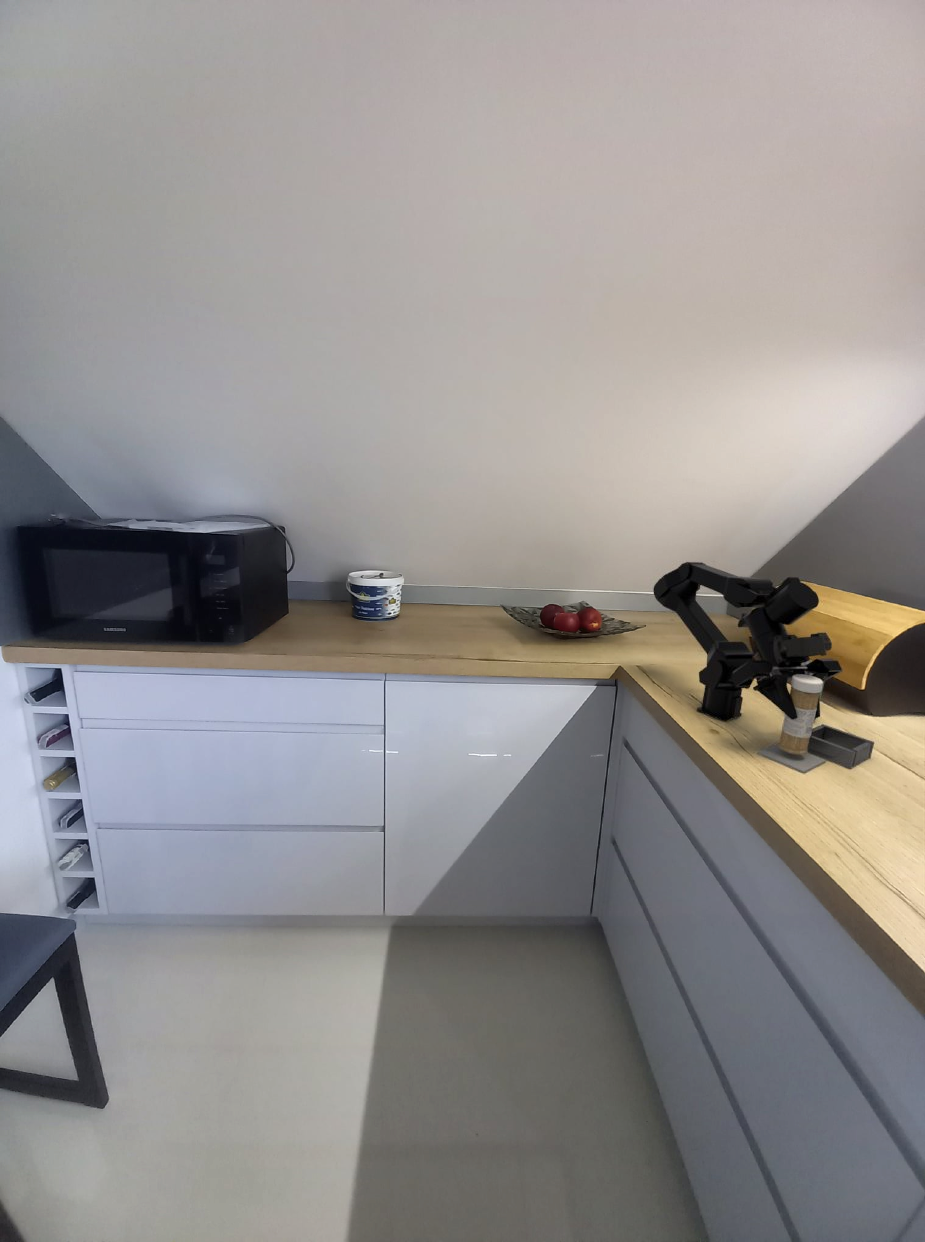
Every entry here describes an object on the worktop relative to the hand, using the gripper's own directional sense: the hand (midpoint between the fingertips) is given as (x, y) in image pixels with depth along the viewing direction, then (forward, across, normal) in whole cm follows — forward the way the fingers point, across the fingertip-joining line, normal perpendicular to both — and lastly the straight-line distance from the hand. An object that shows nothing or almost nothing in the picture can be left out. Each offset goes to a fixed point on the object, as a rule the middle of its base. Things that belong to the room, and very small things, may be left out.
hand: (806, 718), depth 97 cm
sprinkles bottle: (+4, 0, +6) cm, 7 cm away
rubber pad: (+5, 0, +6) cm, 8 cm away
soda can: (-5, +17, +17) cm, 25 cm away
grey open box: (+4, +10, +7) cm, 13 cm away
